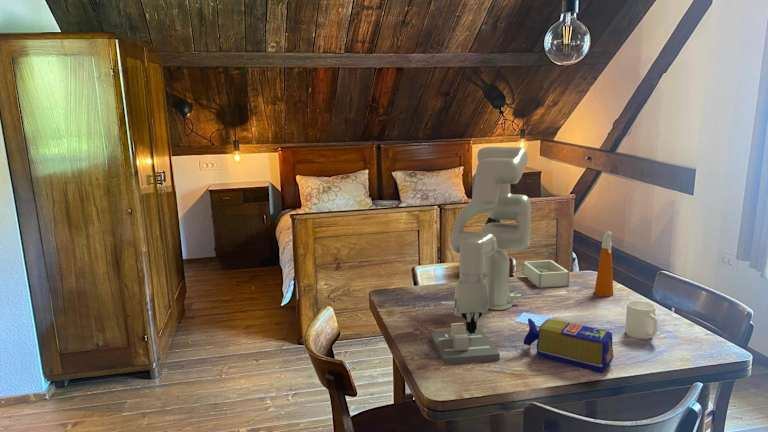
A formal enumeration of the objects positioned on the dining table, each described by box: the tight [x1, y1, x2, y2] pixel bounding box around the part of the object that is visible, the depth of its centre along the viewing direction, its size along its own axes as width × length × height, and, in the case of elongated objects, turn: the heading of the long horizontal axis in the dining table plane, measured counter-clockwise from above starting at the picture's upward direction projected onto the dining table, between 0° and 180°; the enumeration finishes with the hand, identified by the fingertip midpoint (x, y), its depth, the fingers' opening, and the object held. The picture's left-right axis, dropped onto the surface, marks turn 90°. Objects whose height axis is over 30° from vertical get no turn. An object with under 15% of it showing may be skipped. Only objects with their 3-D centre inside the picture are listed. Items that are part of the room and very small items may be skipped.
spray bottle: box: [594, 231, 614, 297], centre depth 208 cm, size 7×11×26 cm, turn 167°
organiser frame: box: [522, 259, 570, 289], centre depth 229 cm, size 13×18×6 cm
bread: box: [523, 318, 614, 374], centre depth 158 cm, size 10×25×10 cm, turn 53°
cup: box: [624, 300, 658, 340], centre depth 171 cm, size 8×12×10 cm
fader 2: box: [453, 333, 469, 351], centre depth 162 cm, size 4×3×4 cm
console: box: [430, 329, 501, 365], centre depth 166 cm, size 17×18×2 cm
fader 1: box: [450, 322, 467, 338], centre depth 169 cm, size 4×3×4 cm
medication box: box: [535, 268, 552, 273], centre depth 231 cm, size 12×3×4 cm, turn 38°
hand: (471, 332), depth 170 cm, fingers closed
